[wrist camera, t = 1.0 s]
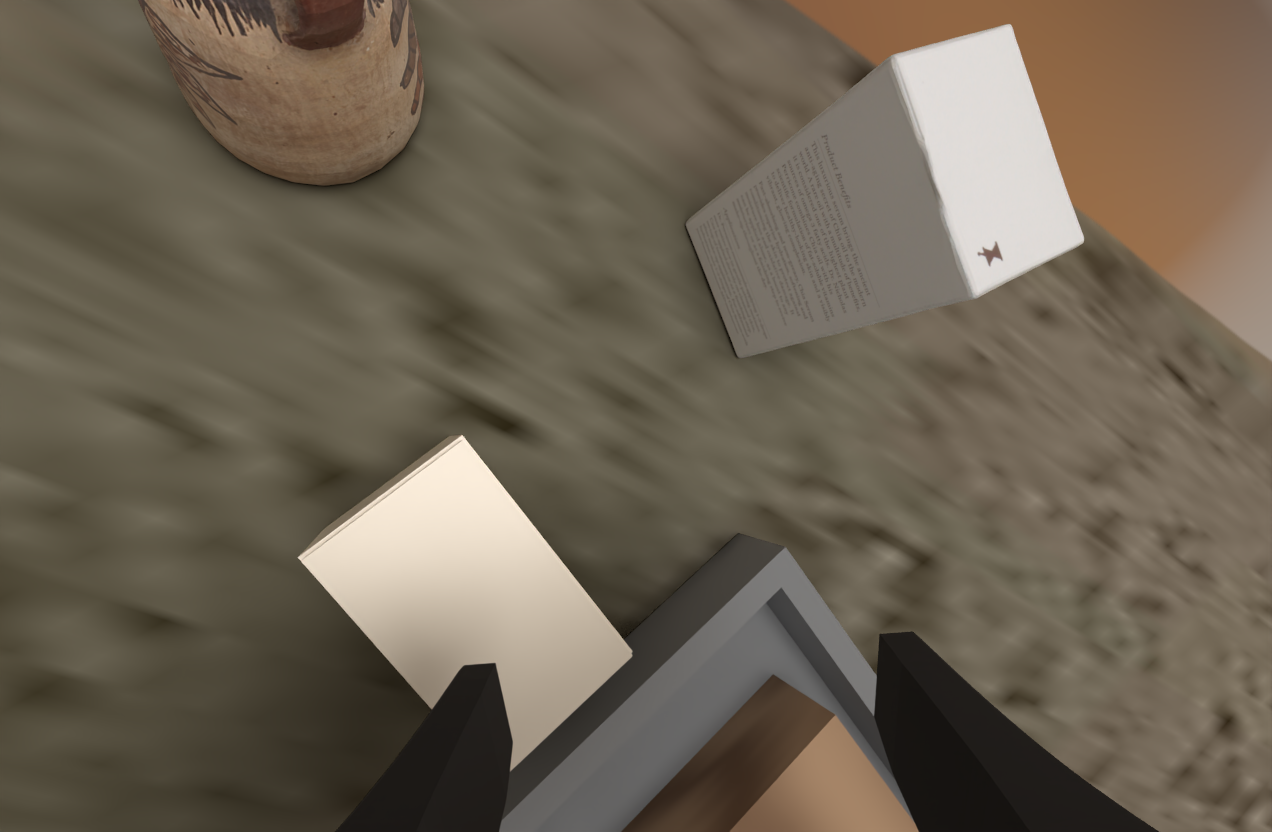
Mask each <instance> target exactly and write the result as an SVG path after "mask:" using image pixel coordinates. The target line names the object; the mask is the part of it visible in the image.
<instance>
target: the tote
mask: <svg viewBox="0 0 1272 832" xmlns="http://www.w3.org/2000/svg"><path fill="white" fill-rule="evenodd" d="M624 641H625V642H626V643H627V645H628V646H629V647H630V649H631V650H632V651H633V652H632V653H631V654H632V655H633V656H632V657H631V658H630V659H629V660H628V661H627V662H626V663H625V664H624V665H623V666H622V667H621V668H620V669H618V670H617V671H616V672H615V673H614V674H613V675H612V676H611V677H610V678H609V679H608V680H607V681H606V682H605V683H604V684H603V685H602V686H600V687H599V688H598V689H597V690H596V691H595V692H594V693H593V694H592V695H591V696H590V697H589V698H588V699H587V700H586V701H585V702H583V703H582V704H581V705H580V706H579V707H578V708H577V709H576V710H575V711H574V712H573V713H572V714H571V715H570V716H569V717H568V718H566V719H565V720H564V721H563V722H562V723H561V724H560V725H559V726H558V727H557V728H556V729H555V730H554V731H553V732H552V733H551V734H550V735H548V736H547V737H546V738H545V739H544V740H543V741H542V742H541V743H540V744H539V745H538V746H537V747H536V748H535V749H534V750H533V751H531V752H530V753H529V754H528V755H527V756H526V757H525V758H524V759H523V760H522V761H521V762H520V763H519V764H518V765H517V766H516V767H514V768H513V769H512V770H511V771H510V775H509V783H508V790H507V798H506V803H505V808H504V812H503V817H502V821H501V826H500V830H499V832H621V831H622V830H623V829H624V828H625V827H626V826H627V825H628V824H629V823H630V822H631V821H632V820H633V819H634V818H635V817H636V816H637V815H638V814H639V813H640V812H641V811H642V809H643V808H644V807H645V806H646V805H647V804H648V803H649V802H650V801H651V800H652V799H653V798H654V797H655V796H656V795H657V794H658V793H659V792H660V791H661V790H662V789H663V788H664V787H665V786H666V785H667V784H668V783H669V782H670V781H671V779H672V778H673V777H674V776H675V775H676V774H677V773H678V772H679V771H680V770H681V769H682V768H683V767H684V766H685V765H686V764H687V763H688V762H689V761H690V760H691V759H692V758H693V757H694V756H695V755H696V754H697V753H698V752H699V751H700V749H701V748H702V747H703V746H704V745H705V744H706V743H707V742H708V741H709V740H710V739H711V738H712V737H713V736H714V735H715V734H716V733H717V732H718V731H719V730H720V729H721V728H722V727H723V726H724V725H725V724H726V723H727V722H728V721H729V719H730V718H731V717H732V716H733V715H734V714H735V713H736V712H737V711H738V710H739V709H740V708H741V707H742V706H743V705H744V704H745V703H746V702H747V701H748V700H749V699H750V698H751V697H752V696H753V695H754V694H755V693H756V692H757V691H758V689H759V688H760V687H761V686H762V685H763V684H764V683H765V682H766V681H767V680H768V679H769V678H770V677H771V676H772V675H773V674H774V675H775V676H777V677H778V678H780V679H781V680H783V681H784V682H786V683H787V684H789V685H790V686H792V687H794V688H795V689H797V690H798V691H800V692H801V693H803V694H804V695H806V696H807V697H809V698H810V699H812V700H814V701H815V702H817V703H818V704H820V705H821V706H823V707H824V708H826V709H827V710H829V711H830V712H832V713H834V714H835V715H836V716H837V718H838V719H839V720H840V722H841V723H842V724H843V726H844V727H845V728H846V730H847V731H848V733H849V734H850V735H851V737H852V738H853V739H854V741H855V742H856V743H857V745H858V746H859V748H860V749H861V750H862V752H863V753H864V754H865V756H866V757H867V759H868V760H869V761H870V763H871V764H872V765H873V767H874V768H875V769H876V771H877V772H878V774H879V775H880V776H881V778H882V779H883V780H884V782H885V783H886V785H887V786H888V787H889V789H890V790H891V791H892V793H893V794H894V795H895V797H896V798H897V800H898V801H899V802H900V804H901V805H902V806H903V808H904V809H905V810H906V812H907V813H908V815H909V816H910V817H911V819H912V820H913V818H912V816H911V814H910V811H909V809H908V807H907V805H906V802H905V800H904V798H903V796H902V793H901V791H900V789H899V787H898V785H897V782H896V780H895V778H894V775H893V773H892V770H891V767H890V764H889V761H888V758H887V755H886V752H885V750H884V746H883V743H882V740H881V737H880V734H879V731H878V727H877V724H876V721H875V718H874V710H875V695H876V681H877V676H876V674H875V673H874V672H873V670H872V669H871V667H870V666H869V665H868V663H867V662H866V660H865V659H864V657H863V656H862V655H861V653H860V652H859V650H858V649H857V648H856V646H855V645H854V643H853V642H852V640H851V639H850V638H849V636H848V635H847V633H846V632H845V631H844V629H843V628H842V626H841V625H840V623H839V622H838V621H837V619H836V618H835V616H834V615H833V614H832V612H831V611H830V609H829V608H828V606H827V605H826V604H825V602H824V601H823V599H822V598H821V597H820V595H819V594H818V592H817V591H816V589H815V588H814V587H813V585H812V584H811V582H810V581H809V580H808V578H807V577H806V575H805V574H804V572H803V571H802V570H801V568H800V567H799V565H798V564H797V563H796V561H795V560H794V558H793V557H792V555H791V554H790V553H789V551H788V550H787V548H786V547H784V546H781V545H777V544H774V543H770V542H767V541H763V540H760V539H757V538H753V537H750V536H746V535H743V534H739V533H738V534H737V535H736V536H735V537H734V538H733V539H732V540H731V541H730V542H728V543H727V544H726V545H725V546H724V547H723V548H722V549H721V550H720V551H719V552H718V553H717V554H715V555H714V556H713V557H712V558H711V559H710V560H709V561H708V562H707V563H706V564H705V565H704V566H703V567H701V568H700V569H699V570H698V571H697V572H696V573H695V574H694V575H693V576H692V577H691V578H690V579H689V580H687V581H686V582H685V583H684V584H683V585H682V586H681V587H680V588H679V589H678V590H677V591H676V592H675V593H673V594H672V595H671V596H670V597H669V598H668V599H667V600H666V601H665V602H664V603H663V604H662V605H661V606H659V607H658V608H657V609H656V610H655V611H654V612H653V613H652V614H651V615H650V616H649V617H648V618H647V619H645V620H644V621H643V622H642V623H641V624H640V625H639V626H638V627H637V628H636V629H635V630H634V631H633V632H631V633H630V634H629V635H628V636H627V637H626V638H625V639H624ZM913 821H914V820H913ZM914 823H915V822H914Z"/></svg>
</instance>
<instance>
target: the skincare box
mask: <svg viewBox="0 0 1272 832" xmlns="http://www.w3.org/2000/svg"><path fill="white" fill-rule="evenodd" d="M686 227H687V230H688V232H689V235H690V237H691V240H692V242H693V245H694V247H695V250H696V252H697V255H698V257H699V260H700V262H701V265H702V267H703V270H704V272H705V275H706V277H707V280H708V283H709V285H710V288H711V290H712V293H713V295H714V298H715V300H716V303H717V305H718V308H719V311H720V313H721V316H722V318H723V321H724V323H725V326H726V329H727V331H728V334H729V336H730V338H731V341H732V344H733V346H734V349H735V352H736V354H737V356H738V357H739V358H744V357H749V356H753V355H757V354H761V353H764V352H768V351H772V350H775V349H779V348H783V347H787V346H791V345H794V344H799V343H803V342H807V341H811V340H815V339H819V338H823V337H826V336H830V335H834V334H838V333H842V332H846V331H850V330H854V329H857V328H861V327H865V326H868V325H873V324H877V323H880V322H884V321H888V320H892V319H895V318H899V317H903V316H907V315H910V314H914V313H917V312H921V311H924V310H928V309H932V308H936V307H941V306H945V305H950V304H954V303H958V302H962V301H967V300H971V299H976V298H978V297H980V296H982V295H983V294H985V293H987V292H989V291H991V290H993V289H995V288H997V287H999V286H1001V285H1003V284H1004V283H1006V282H1008V281H1010V280H1012V279H1014V278H1016V277H1018V276H1020V275H1022V274H1024V273H1026V272H1028V271H1030V270H1032V269H1034V268H1036V267H1038V266H1040V265H1042V264H1044V263H1046V262H1048V261H1050V260H1052V259H1054V258H1056V257H1058V256H1060V255H1062V254H1064V253H1066V252H1068V251H1070V250H1072V249H1074V248H1076V247H1078V246H1079V245H1081V244H1082V243H1083V242H1084V237H1083V234H1082V231H1081V228H1080V225H1079V223H1078V220H1077V217H1076V214H1075V212H1074V209H1073V206H1072V204H1071V201H1070V198H1069V196H1068V193H1067V190H1066V188H1065V185H1064V181H1063V179H1062V175H1061V172H1060V170H1059V167H1058V164H1057V161H1056V158H1055V155H1054V152H1053V149H1052V146H1051V143H1050V140H1049V137H1048V134H1047V130H1046V127H1045V124H1044V121H1043V118H1042V115H1041V112H1040V109H1039V107H1038V103H1037V101H1036V98H1035V95H1034V92H1033V89H1032V86H1031V83H1030V80H1029V77H1028V74H1027V71H1026V68H1025V65H1024V62H1023V59H1022V56H1021V53H1020V50H1019V48H1018V45H1017V42H1016V38H1015V35H1014V31H1013V28H1012V26H1011V25H1010V24H1007V25H1003V26H999V27H996V28H992V29H988V30H984V31H980V32H977V33H973V34H969V35H965V36H961V37H957V38H954V39H950V40H946V41H943V42H939V43H935V44H931V45H927V46H923V47H920V48H916V49H912V50H909V51H905V52H902V53H898V54H894V55H892V56H890V57H888V58H887V59H886V60H885V61H883V62H882V63H881V64H880V65H879V66H878V67H876V68H875V69H874V70H873V71H872V72H870V73H869V74H868V75H867V76H866V77H865V78H863V79H862V80H861V81H860V82H859V83H857V84H856V85H855V86H854V87H852V88H851V89H850V90H849V91H848V92H847V93H845V94H844V95H843V96H842V97H840V98H839V99H838V100H837V101H835V102H834V103H833V104H832V105H830V106H829V107H828V108H827V109H826V110H824V111H823V112H822V113H820V114H819V115H818V116H817V117H816V118H814V119H813V120H812V121H811V122H810V123H808V124H807V125H806V126H805V127H803V128H802V129H801V130H800V131H798V132H797V133H796V134H795V135H793V136H792V137H791V138H790V139H788V140H787V141H786V142H785V143H783V144H782V145H781V146H779V147H778V148H777V149H776V150H774V151H773V152H772V153H771V154H770V155H768V156H767V157H766V158H765V159H763V160H762V161H761V162H760V163H758V164H757V165H756V166H754V167H753V168H752V169H751V170H749V171H748V172H747V173H746V174H744V175H743V176H742V177H741V178H739V179H738V180H737V181H736V182H734V183H733V184H732V185H731V186H729V187H728V188H727V189H726V190H724V191H723V192H722V193H721V194H719V195H718V196H717V197H716V198H714V199H713V200H712V201H711V202H709V203H708V204H707V205H706V206H704V207H703V208H702V209H700V210H699V211H698V212H697V213H696V214H694V215H693V216H692V217H691V218H690V219H689V220H688V221H687V222H686Z"/></svg>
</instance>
